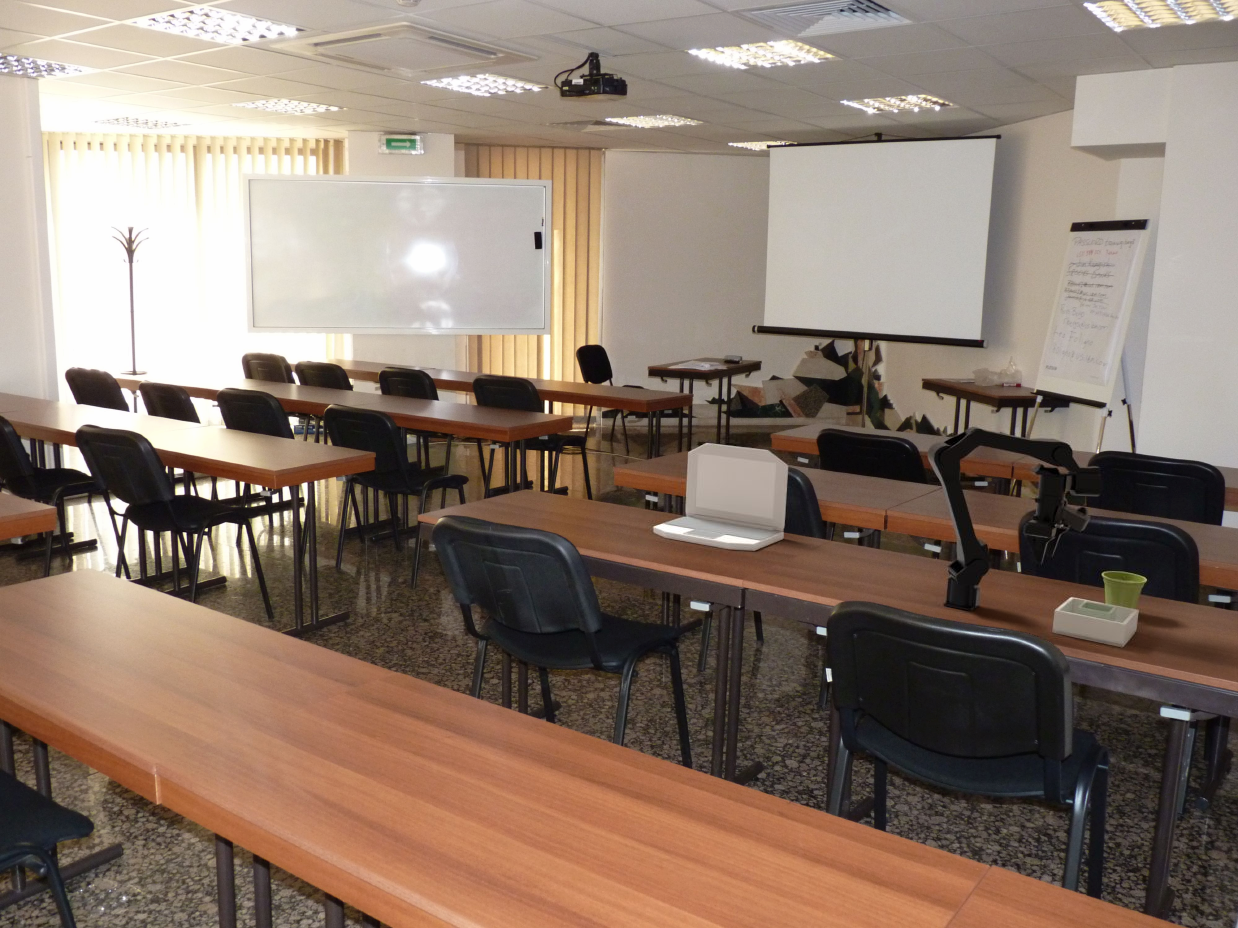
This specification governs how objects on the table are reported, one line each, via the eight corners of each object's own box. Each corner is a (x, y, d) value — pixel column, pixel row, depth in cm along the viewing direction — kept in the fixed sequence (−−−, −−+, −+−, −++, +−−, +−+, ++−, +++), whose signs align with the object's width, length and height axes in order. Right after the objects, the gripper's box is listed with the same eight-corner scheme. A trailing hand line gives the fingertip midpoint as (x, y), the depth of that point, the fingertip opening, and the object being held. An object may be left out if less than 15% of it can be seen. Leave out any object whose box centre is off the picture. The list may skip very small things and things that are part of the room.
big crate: (1052, 632, 217) (1054, 610, 216) (1068, 618, 228) (1071, 596, 227) (1122, 647, 209) (1125, 624, 208) (1136, 631, 220) (1138, 609, 219)
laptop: (646, 536, 297) (650, 448, 293) (686, 523, 317) (690, 440, 313) (748, 554, 279) (753, 460, 275) (784, 539, 299) (789, 452, 295)
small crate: (1075, 629, 218) (1077, 607, 217) (1082, 622, 223) (1084, 600, 222) (1107, 635, 214) (1110, 613, 213) (1114, 628, 219) (1116, 606, 218)
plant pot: (1147, 620, 229) (1152, 583, 228) (1103, 616, 231) (1108, 579, 229) (1135, 608, 238) (1139, 573, 237) (1093, 604, 240) (1097, 569, 239)
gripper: (1078, 504, 218) (1071, 574, 220) (1098, 493, 232) (1091, 559, 235) (1025, 497, 224) (1019, 564, 227) (1048, 487, 239) (1041, 550, 241)
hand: (1044, 560), depth 232 cm, fingers open, 9 cm apart
